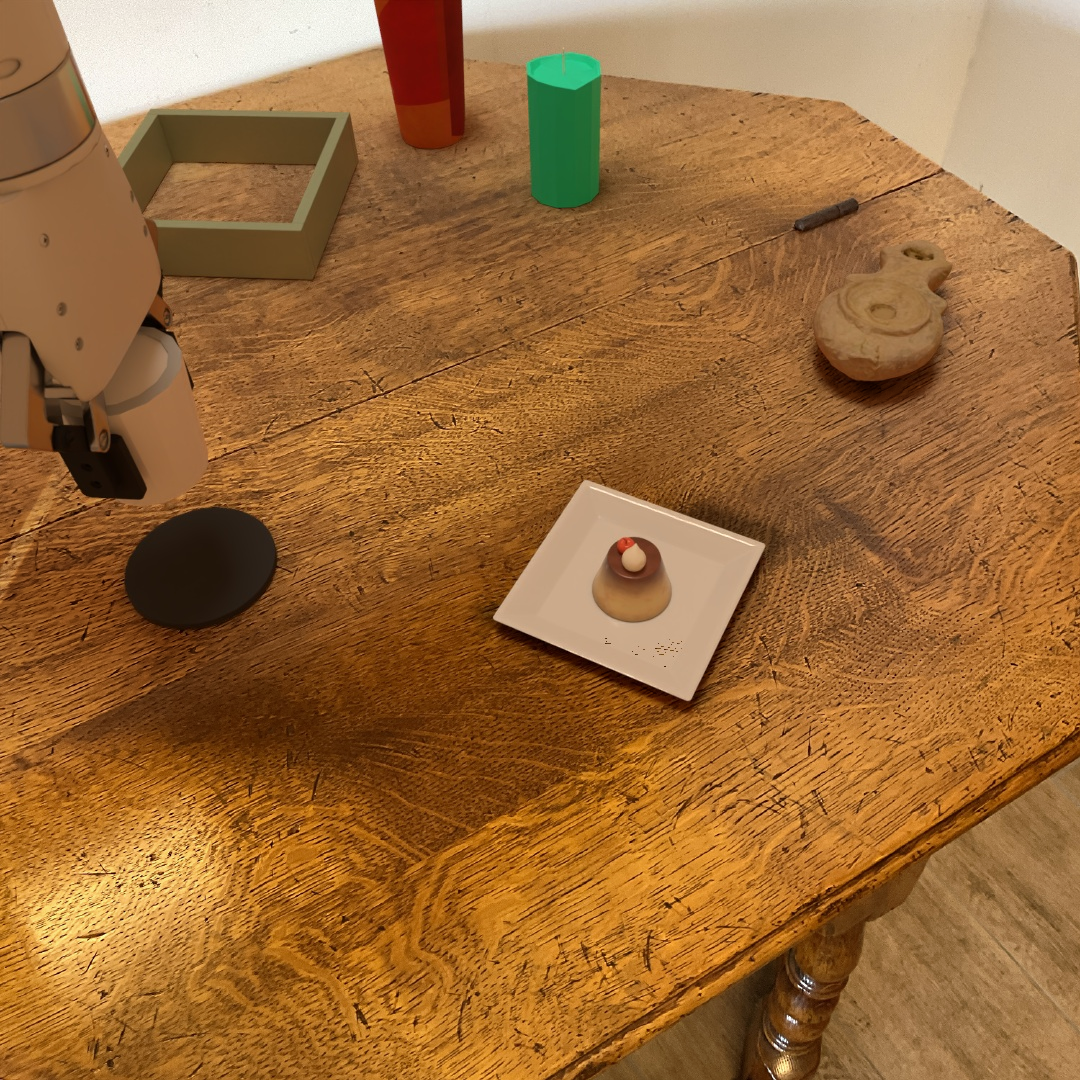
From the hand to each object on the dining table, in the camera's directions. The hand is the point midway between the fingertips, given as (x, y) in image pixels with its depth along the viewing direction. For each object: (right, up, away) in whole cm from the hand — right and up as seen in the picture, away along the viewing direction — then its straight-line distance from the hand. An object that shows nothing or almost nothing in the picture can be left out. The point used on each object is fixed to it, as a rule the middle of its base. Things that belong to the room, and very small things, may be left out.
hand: (141, 438), depth 52 cm
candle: (+23, +25, +34) cm, 48 cm away
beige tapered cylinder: (0, -1, +2) cm, 2 cm away
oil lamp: (+45, +9, +21) cm, 51 cm away
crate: (-5, +23, +33) cm, 41 cm away
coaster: (0, -7, +9) cm, 11 cm away
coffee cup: (+11, +33, +41) cm, 54 cm away
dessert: (+26, -8, +7) cm, 28 cm away
